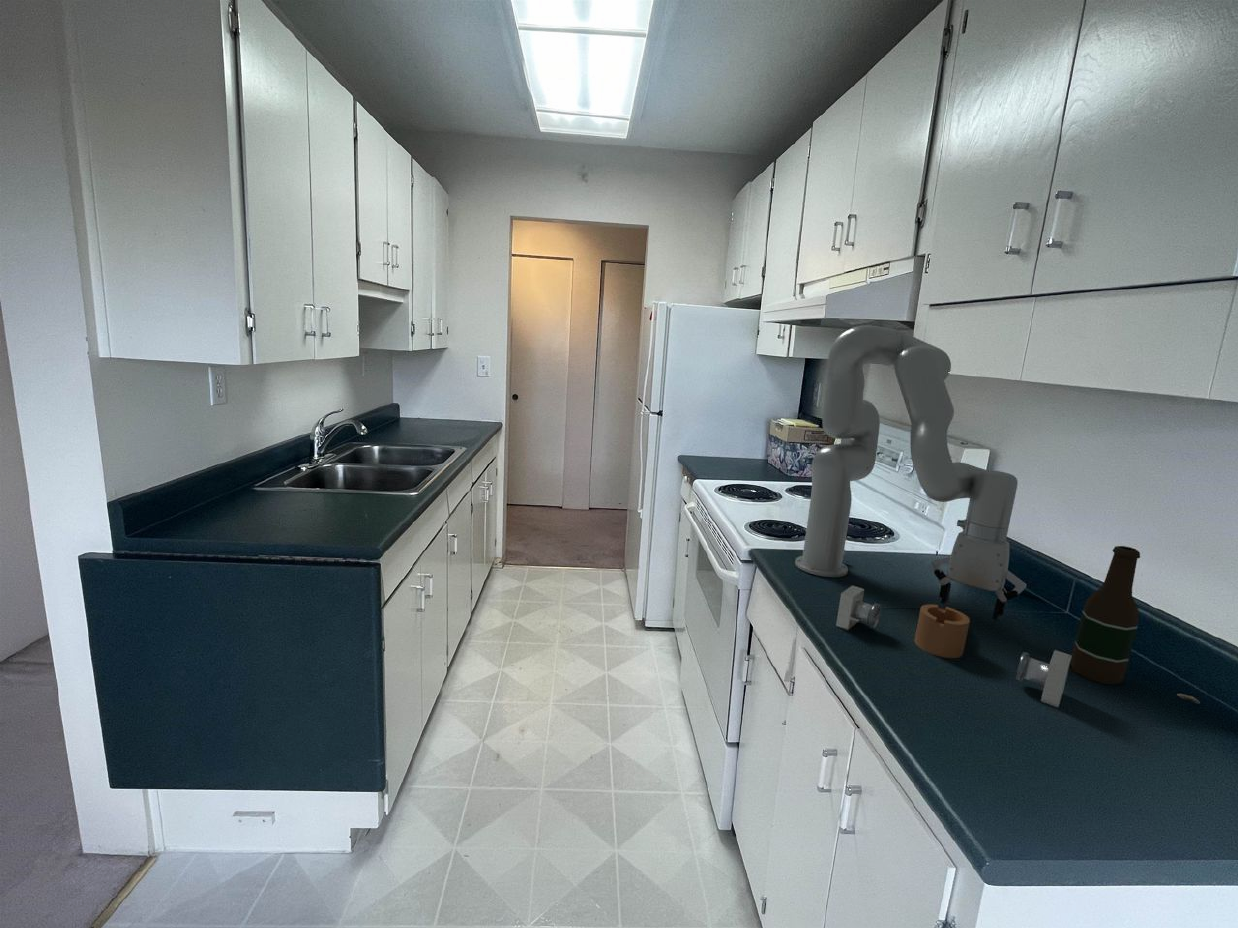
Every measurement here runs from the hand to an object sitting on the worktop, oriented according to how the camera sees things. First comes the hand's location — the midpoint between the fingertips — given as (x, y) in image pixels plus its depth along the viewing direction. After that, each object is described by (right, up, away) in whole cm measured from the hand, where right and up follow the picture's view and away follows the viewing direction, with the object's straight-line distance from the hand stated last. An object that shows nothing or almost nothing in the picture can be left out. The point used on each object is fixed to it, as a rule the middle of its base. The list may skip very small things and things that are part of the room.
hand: (969, 609), depth 127 cm
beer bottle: (+13, -8, -17) cm, 23 cm away
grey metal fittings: (-14, -5, -15) cm, 21 cm away
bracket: (-10, -4, -7) cm, 13 cm away
